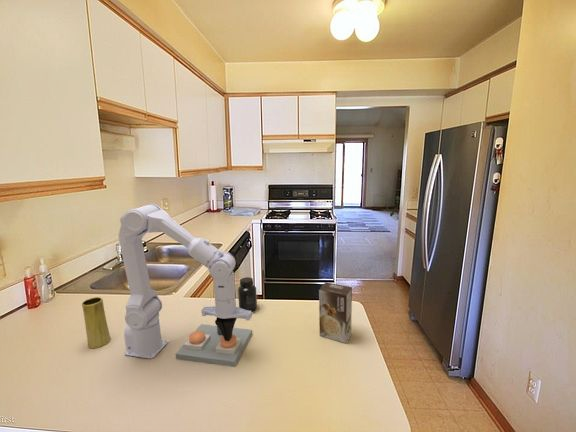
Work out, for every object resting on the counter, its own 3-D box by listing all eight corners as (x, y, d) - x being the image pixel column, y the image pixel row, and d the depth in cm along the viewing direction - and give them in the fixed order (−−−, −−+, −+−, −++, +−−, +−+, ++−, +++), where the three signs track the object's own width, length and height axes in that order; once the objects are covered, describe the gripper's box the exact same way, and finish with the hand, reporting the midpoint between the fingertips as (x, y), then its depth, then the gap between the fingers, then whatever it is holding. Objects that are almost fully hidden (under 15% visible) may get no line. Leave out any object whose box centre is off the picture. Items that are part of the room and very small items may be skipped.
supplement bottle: (258, 305, 111) (257, 276, 109) (255, 314, 105) (253, 284, 102) (241, 304, 112) (239, 275, 110) (236, 313, 105) (235, 283, 103)
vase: (99, 349, 87) (92, 306, 84) (82, 347, 88) (74, 305, 85) (115, 337, 93) (108, 297, 90) (99, 335, 94) (92, 295, 91)
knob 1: (187, 352, 85) (185, 339, 84) (195, 342, 90) (193, 329, 89) (201, 354, 84) (200, 340, 83) (208, 344, 89) (207, 331, 88)
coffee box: (352, 332, 93) (353, 286, 90) (346, 344, 87) (347, 295, 84) (325, 325, 97) (325, 281, 94) (318, 336, 92) (318, 289, 88)
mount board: (175, 358, 83) (174, 349, 82) (201, 328, 97) (200, 320, 96) (234, 366, 79) (234, 357, 78) (252, 334, 93) (251, 326, 93)
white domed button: (215, 334, 91) (214, 323, 90) (219, 329, 94) (219, 318, 93) (224, 335, 90) (223, 324, 89) (228, 330, 93) (227, 318, 92)
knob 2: (218, 356, 83) (217, 342, 82) (225, 346, 88) (224, 333, 87) (233, 358, 82) (232, 344, 81) (239, 347, 87) (238, 334, 86)
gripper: (254, 291, 84) (256, 333, 86) (208, 288, 87) (211, 328, 89) (245, 303, 77) (248, 348, 80) (196, 299, 80) (200, 342, 83)
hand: (228, 338), depth 84 cm, fingers closed, pressing on knob 2
